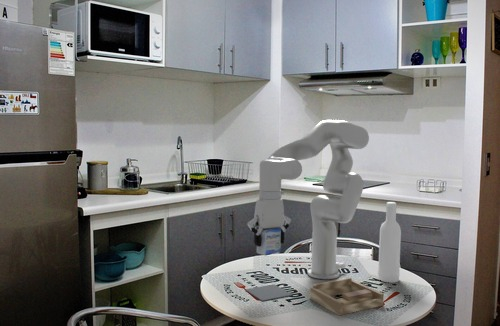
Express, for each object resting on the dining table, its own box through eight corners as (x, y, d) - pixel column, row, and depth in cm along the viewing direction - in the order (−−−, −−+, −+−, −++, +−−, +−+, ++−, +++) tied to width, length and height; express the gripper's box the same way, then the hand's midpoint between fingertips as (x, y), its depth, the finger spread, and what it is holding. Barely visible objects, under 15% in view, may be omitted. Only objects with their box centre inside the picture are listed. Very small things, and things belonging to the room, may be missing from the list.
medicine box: (265, 256, 172) (265, 231, 172) (256, 253, 176) (256, 228, 175) (281, 251, 178) (281, 227, 177) (271, 249, 181) (272, 225, 180)
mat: (274, 285, 186) (274, 284, 186) (292, 295, 175) (292, 294, 175) (245, 290, 180) (245, 289, 180) (262, 301, 170) (262, 300, 170)
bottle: (391, 284, 189) (394, 205, 186) (373, 279, 194) (376, 202, 192) (403, 280, 194) (406, 203, 191) (385, 274, 200) (388, 200, 197)
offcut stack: (367, 301, 171) (368, 288, 170) (375, 305, 168) (375, 291, 167) (334, 308, 164) (335, 295, 164) (341, 312, 161) (342, 298, 160)
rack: (352, 290, 181) (352, 277, 181) (383, 305, 167) (383, 290, 167) (310, 299, 172) (310, 284, 172) (339, 315, 159) (339, 300, 158)
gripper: (285, 192, 182) (284, 239, 184) (242, 195, 174) (242, 244, 175) (297, 195, 175) (296, 243, 177) (253, 198, 167) (252, 249, 169)
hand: (269, 244), depth 176 cm, fingers closed on medicine box, 8 cm apart
